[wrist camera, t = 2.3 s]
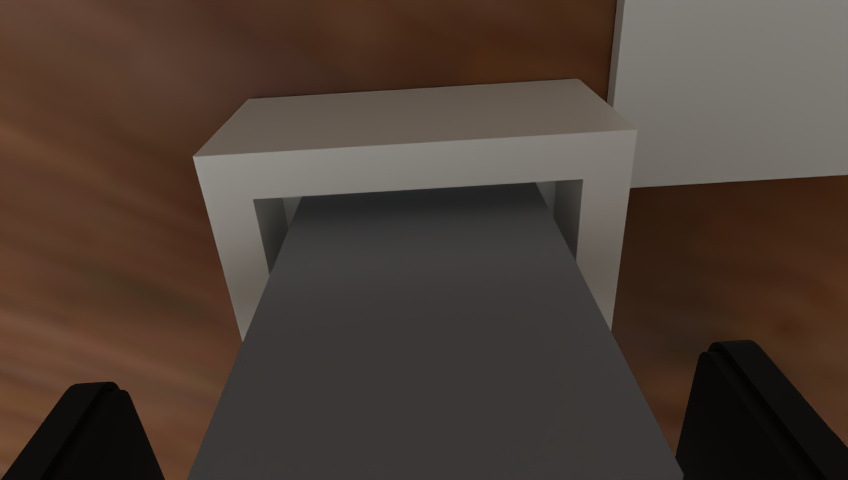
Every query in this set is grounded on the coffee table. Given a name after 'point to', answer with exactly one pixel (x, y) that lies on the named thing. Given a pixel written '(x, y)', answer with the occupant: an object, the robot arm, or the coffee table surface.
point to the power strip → (418, 166)
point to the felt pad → (732, 88)
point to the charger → (430, 352)
